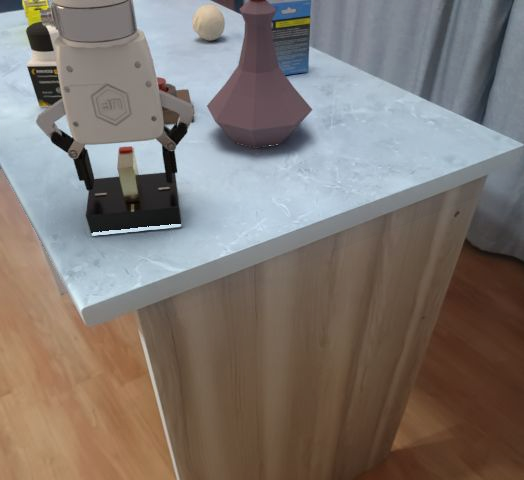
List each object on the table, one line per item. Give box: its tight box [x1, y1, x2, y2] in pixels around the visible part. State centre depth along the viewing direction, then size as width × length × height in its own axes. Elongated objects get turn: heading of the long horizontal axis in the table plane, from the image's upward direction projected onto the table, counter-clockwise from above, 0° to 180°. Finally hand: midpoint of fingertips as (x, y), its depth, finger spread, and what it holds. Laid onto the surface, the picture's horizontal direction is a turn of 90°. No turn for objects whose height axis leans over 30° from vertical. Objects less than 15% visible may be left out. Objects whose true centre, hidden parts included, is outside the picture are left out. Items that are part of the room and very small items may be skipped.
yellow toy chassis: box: [21, 0, 51, 27], centre depth 119 cm, size 16×6×8 cm, turn 19°
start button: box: [156, 76, 167, 92], centre depth 85 cm, size 4×4×2 cm
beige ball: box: [191, 4, 226, 41], centre depth 115 cm, size 7×7×7 cm
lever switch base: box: [85, 172, 182, 234], centre depth 65 cm, size 11×9×3 cm
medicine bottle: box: [25, 22, 62, 109], centre depth 89 cm, size 7×7×12 cm
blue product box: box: [270, 0, 312, 76], centre depth 98 cm, size 9×4×12 cm, turn 110°
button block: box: [162, 83, 195, 125], centre depth 87 cm, size 11×9×4 cm
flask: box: [206, 0, 313, 149], centre depth 75 cm, size 16×16×20 cm
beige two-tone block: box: [116, 146, 140, 203], centre depth 63 cm, size 5×2×5 cm, turn 9°
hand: (130, 181), depth 63 cm, fingers open, 9 cm apart
